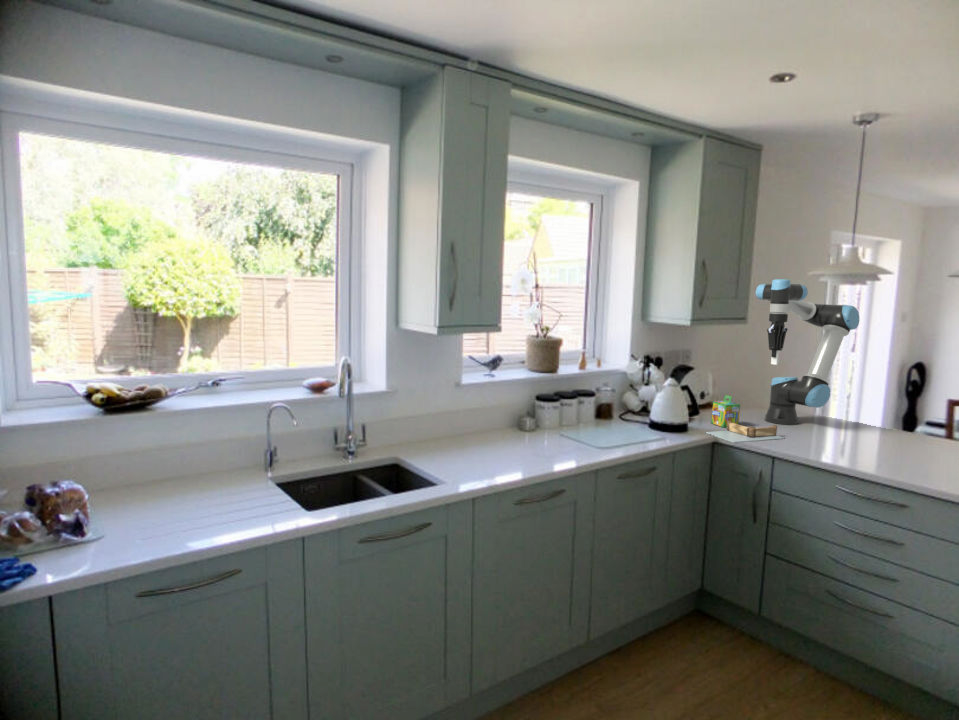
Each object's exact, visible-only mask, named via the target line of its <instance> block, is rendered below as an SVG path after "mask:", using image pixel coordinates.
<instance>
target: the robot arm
mask: <svg viewBox="0 0 959 720" xmlns="http://www.w3.org/2000/svg"><path fill="white" fill-rule="evenodd" d="M808 292H809V291H808V288H807V286H806V285H805V284H800V283H791V280H790V279H787V278H786V279H780V278H779V279H778V278H777V279H773V280H772V281H771V283H762V284H761V283H760V284H759V285H758V286H757V287H756V289H755V296H756V298H757V300H763V301H765V300H767V301H768V302H770V303H769V304H770V305H769V312H770V313H769V317H768V318H769V319H768V321H769V322H770V328H767V329H766V331H767V338H768V349H769V350H770V351H771V359H770V365H775V366H778V365H779V363H780V362H779V360H780V351H783V349H784V345H785V340H786V335H787V332H788V328H786V326H785V323H787V322H788V318H789V317H788V316H789V314H788V313H789V312H791V313H793V314H795V315H797V317H798V318H799V319H801V320H802V321H804V322H806V323H808V324H810V325H812V326H815V327H819V328H822V330H823V331H824V332H823V335H822V337H821V340H820V342H819V344H818V347H817V350H816V352H815V355H814V356H813V360H812V362H811V364H810V367H809V369H808V371H807V374H804V375H802V377H801V380H799V379H798V377H797V376H777V377H773V378H772V379H771V385H770V395H769V396H770V397H769V406H768V409H767V412H766V414H765V415H764V420H765V421H766V422H769V423H772V424H778V425H789V426H792V425H797V424H799V418H798V413H797V409H796V405H799V406H800V405H801V406H803V407H804V406H805V407H807V408H808V407H809V408H821V407H824V406H825V405H826V404H827V403H828V401H829V400H830V398H831V388H830V386H829V381H828V377H829V374H830V372H831V370H832V367H833V365H834V361H835V359H836V357H837V355H838V352H839V350H840V347H841V345H842V342H843V340H844V337H846V336H848V335H849V334H850V331H851V330H856V329H857V328H858V327H859V325H860V314H859V313H860V312H859V310H858V308H857V307H856V306H853V305H849V304H822V303H821V304H820V303H814V302H811V301H805V299H806V298H807V297H808V294H809V293H808Z"/></svg>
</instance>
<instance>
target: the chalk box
mask: <svg viewBox="0 0 959 720" xmlns="http://www.w3.org/2000/svg"><path fill="white" fill-rule="evenodd" d="M727 399H728V400H727ZM732 399H733V396H731V395H727V394H725V395H724V398H723V400H713V402H712V413H711V420H710V421H711V422H710V424H712V425H714V426H718V427H721V428H723V429H725V428H727V421H732V423H734V424H738V425H739V421H740V412H741V411H740V409H741V404H740V403H737V402H734V401H732Z"/></svg>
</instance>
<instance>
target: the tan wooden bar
mask: <svg viewBox="0 0 959 720" xmlns="http://www.w3.org/2000/svg"><path fill="white" fill-rule="evenodd" d="M749 427H750V426H744V425H741V424H739V423H738V424H734V423H732V421H727V427H726V431H733V432H736V433H739V434H743V435H746V436H748V434H749Z"/></svg>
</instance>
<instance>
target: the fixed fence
mask: <svg viewBox="0 0 959 720" xmlns="http://www.w3.org/2000/svg"><path fill="white" fill-rule="evenodd" d="M748 427H749V434H748V437H751V438H754V436H755V437H757V436H771V435H773V436H776V435H777V432H778V431H777V430H778V425H776V424H775V425H774V424H772V426H766V427H765V426H764V427H762V426H761V427H755V426H748Z"/></svg>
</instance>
